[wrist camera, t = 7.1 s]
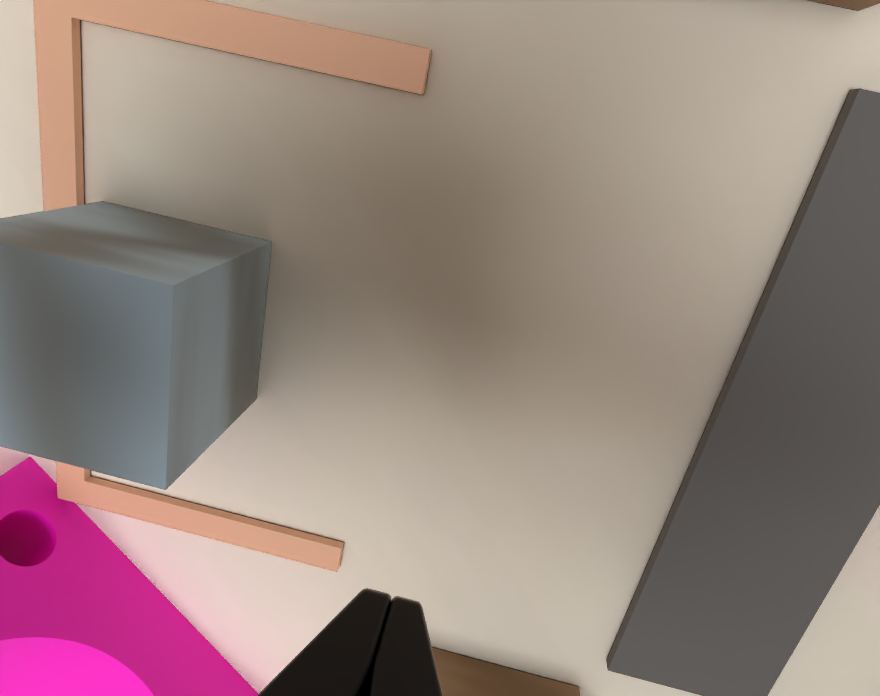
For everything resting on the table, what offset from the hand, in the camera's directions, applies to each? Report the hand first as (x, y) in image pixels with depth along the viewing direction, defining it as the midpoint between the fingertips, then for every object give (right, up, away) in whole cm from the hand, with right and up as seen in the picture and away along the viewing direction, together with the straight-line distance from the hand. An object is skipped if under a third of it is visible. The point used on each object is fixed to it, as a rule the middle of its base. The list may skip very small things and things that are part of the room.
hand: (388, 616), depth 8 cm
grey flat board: (+11, +1, +8) cm, 13 cm away
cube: (-7, +5, +9) cm, 12 cm away
